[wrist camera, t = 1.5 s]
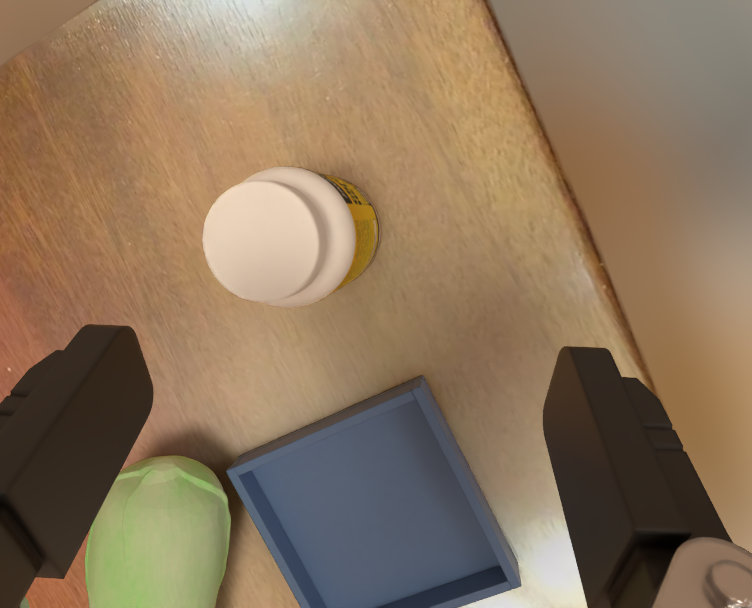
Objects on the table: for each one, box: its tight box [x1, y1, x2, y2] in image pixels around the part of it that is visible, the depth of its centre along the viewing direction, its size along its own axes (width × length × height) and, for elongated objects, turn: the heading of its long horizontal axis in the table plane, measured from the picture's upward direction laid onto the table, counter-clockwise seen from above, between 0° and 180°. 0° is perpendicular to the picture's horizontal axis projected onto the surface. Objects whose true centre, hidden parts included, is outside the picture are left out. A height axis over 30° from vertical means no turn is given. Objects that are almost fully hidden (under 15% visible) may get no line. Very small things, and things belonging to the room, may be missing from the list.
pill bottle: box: [203, 166, 380, 308], centre depth 25 cm, size 6×6×11 cm
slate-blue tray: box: [226, 375, 521, 608], centre depth 32 cm, size 13×13×2 cm
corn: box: [85, 455, 231, 608], centre depth 33 cm, size 8×8×20 cm
